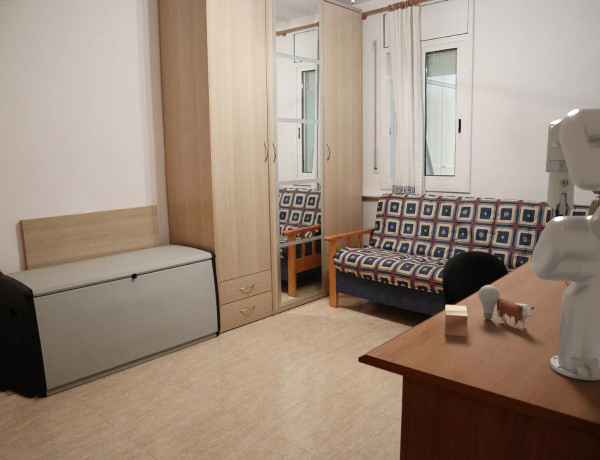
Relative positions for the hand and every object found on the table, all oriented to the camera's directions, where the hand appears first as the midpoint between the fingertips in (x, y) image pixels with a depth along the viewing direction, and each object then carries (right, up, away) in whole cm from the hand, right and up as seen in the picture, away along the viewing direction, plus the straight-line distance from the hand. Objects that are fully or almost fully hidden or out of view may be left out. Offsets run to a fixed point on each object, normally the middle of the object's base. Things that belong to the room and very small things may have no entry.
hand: (556, 233), depth 141 cm
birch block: (-27, -26, +4) cm, 38 cm away
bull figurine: (-7, -28, +10) cm, 31 cm away
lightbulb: (-13, -27, +16) cm, 34 cm away
